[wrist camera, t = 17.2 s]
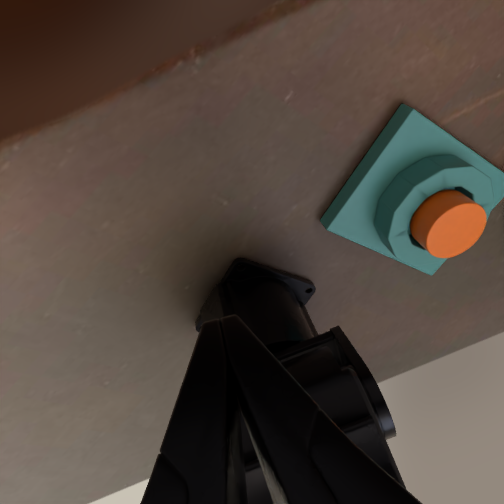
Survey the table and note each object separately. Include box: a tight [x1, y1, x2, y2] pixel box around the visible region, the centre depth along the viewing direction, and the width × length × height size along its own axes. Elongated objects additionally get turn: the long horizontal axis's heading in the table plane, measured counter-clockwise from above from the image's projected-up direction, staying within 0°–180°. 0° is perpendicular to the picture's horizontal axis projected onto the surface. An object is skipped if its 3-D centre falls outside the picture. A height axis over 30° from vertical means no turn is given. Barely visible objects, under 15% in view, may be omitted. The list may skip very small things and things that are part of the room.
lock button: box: [410, 190, 487, 258], centre depth 22 cm, size 4×4×2 cm
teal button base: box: [320, 104, 504, 275], centre depth 24 cm, size 10×8×3 cm
